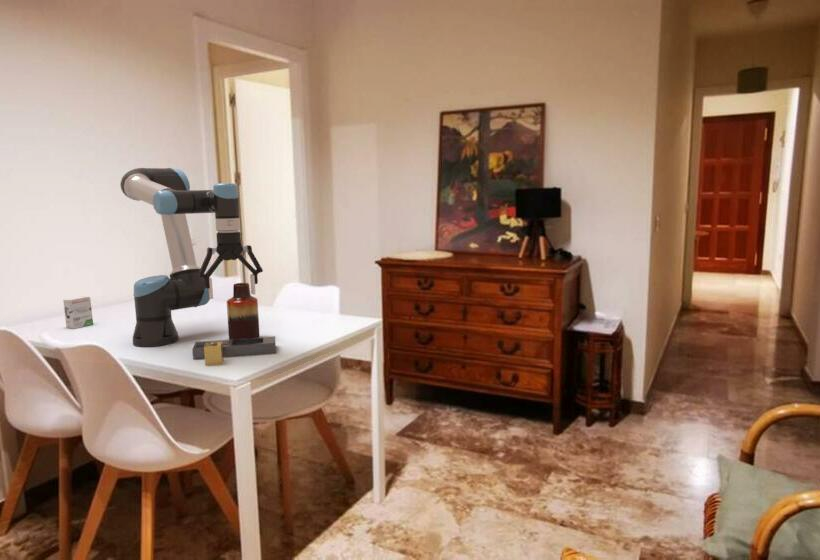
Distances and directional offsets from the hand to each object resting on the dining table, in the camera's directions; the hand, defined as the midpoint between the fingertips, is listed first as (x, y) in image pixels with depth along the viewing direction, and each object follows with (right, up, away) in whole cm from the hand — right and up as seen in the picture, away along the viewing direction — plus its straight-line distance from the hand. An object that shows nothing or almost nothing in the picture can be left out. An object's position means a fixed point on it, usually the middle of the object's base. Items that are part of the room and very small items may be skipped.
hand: (232, 296), depth 189 cm
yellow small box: (-3, -21, -8) cm, 23 cm away
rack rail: (0, -19, +3) cm, 19 cm away
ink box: (-76, -14, +44) cm, 89 cm away
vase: (-2, -16, +21) cm, 27 cm away
